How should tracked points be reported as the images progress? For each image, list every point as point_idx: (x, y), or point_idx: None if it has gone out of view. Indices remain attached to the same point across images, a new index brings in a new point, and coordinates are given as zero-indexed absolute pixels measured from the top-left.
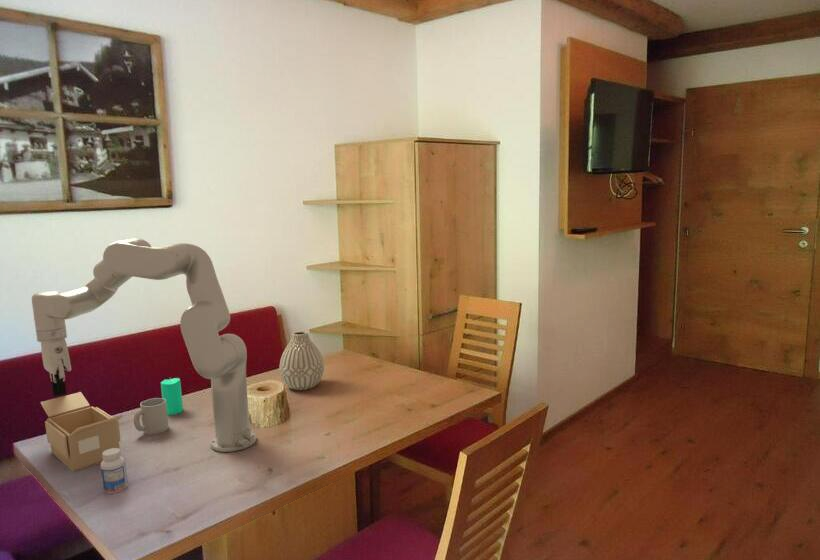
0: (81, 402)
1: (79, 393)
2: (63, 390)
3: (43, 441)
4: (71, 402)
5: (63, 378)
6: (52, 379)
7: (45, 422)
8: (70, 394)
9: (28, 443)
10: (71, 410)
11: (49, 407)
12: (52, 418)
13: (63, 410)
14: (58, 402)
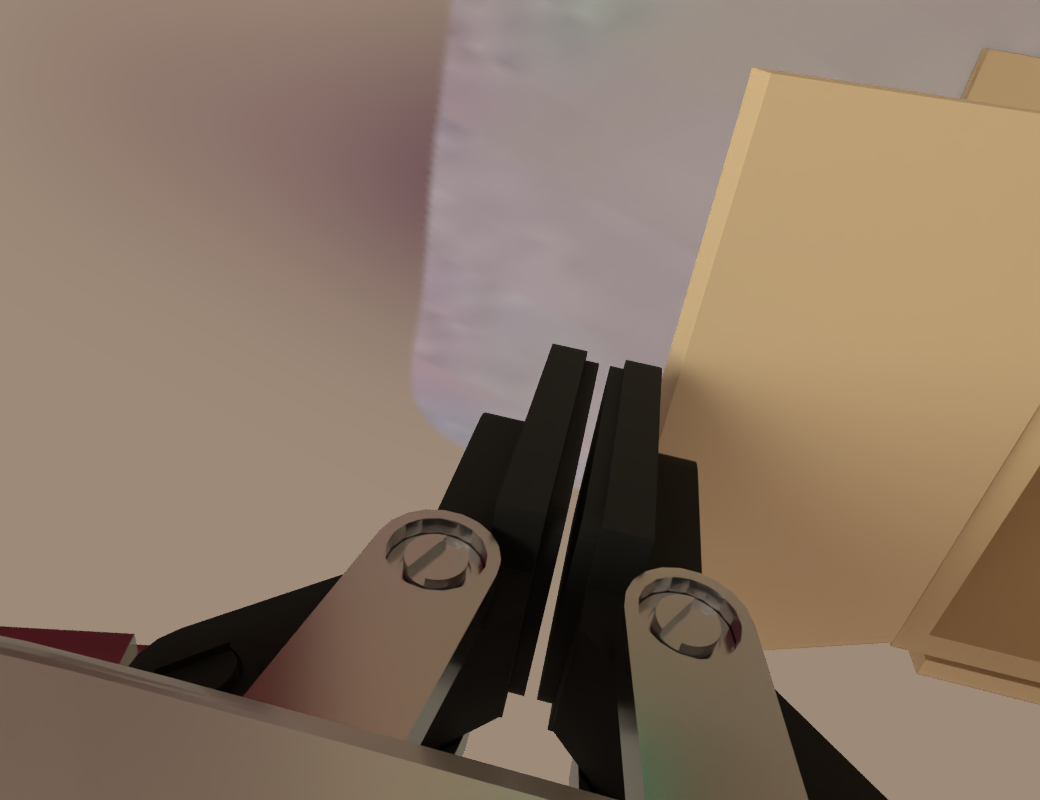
0: (1033, 231)
1: (794, 130)
2: (696, 472)
3: (531, 338)
4: (896, 361)
5: (755, 695)
6: (463, 752)
7: (935, 671)
8: (704, 293)
9: (468, 405)
10: (1019, 416)
11: (767, 609)
12: (939, 613)
13: (947, 503)
14: (758, 506)
